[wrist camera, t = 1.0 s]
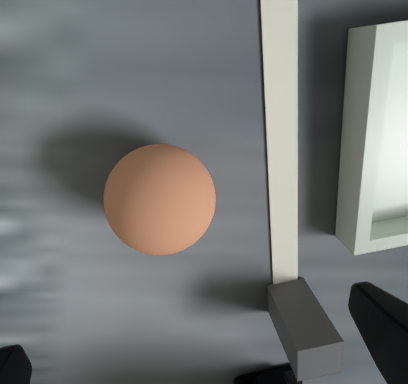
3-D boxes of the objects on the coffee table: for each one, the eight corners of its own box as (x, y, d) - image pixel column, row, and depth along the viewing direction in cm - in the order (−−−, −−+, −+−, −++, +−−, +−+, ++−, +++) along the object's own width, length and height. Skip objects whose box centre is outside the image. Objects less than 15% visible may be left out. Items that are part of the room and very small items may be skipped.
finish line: (302, 305, 26) (340, 372, 20) (268, 312, 26) (297, 381, 20) (307, -121, 14) (398, -228, 9) (244, -114, 14) (297, -218, 9)
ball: (212, 211, 21) (230, 266, 15) (125, 227, 20) (112, 289, 15) (200, 124, 18) (217, 154, 13) (100, 141, 18) (74, 179, 13)
